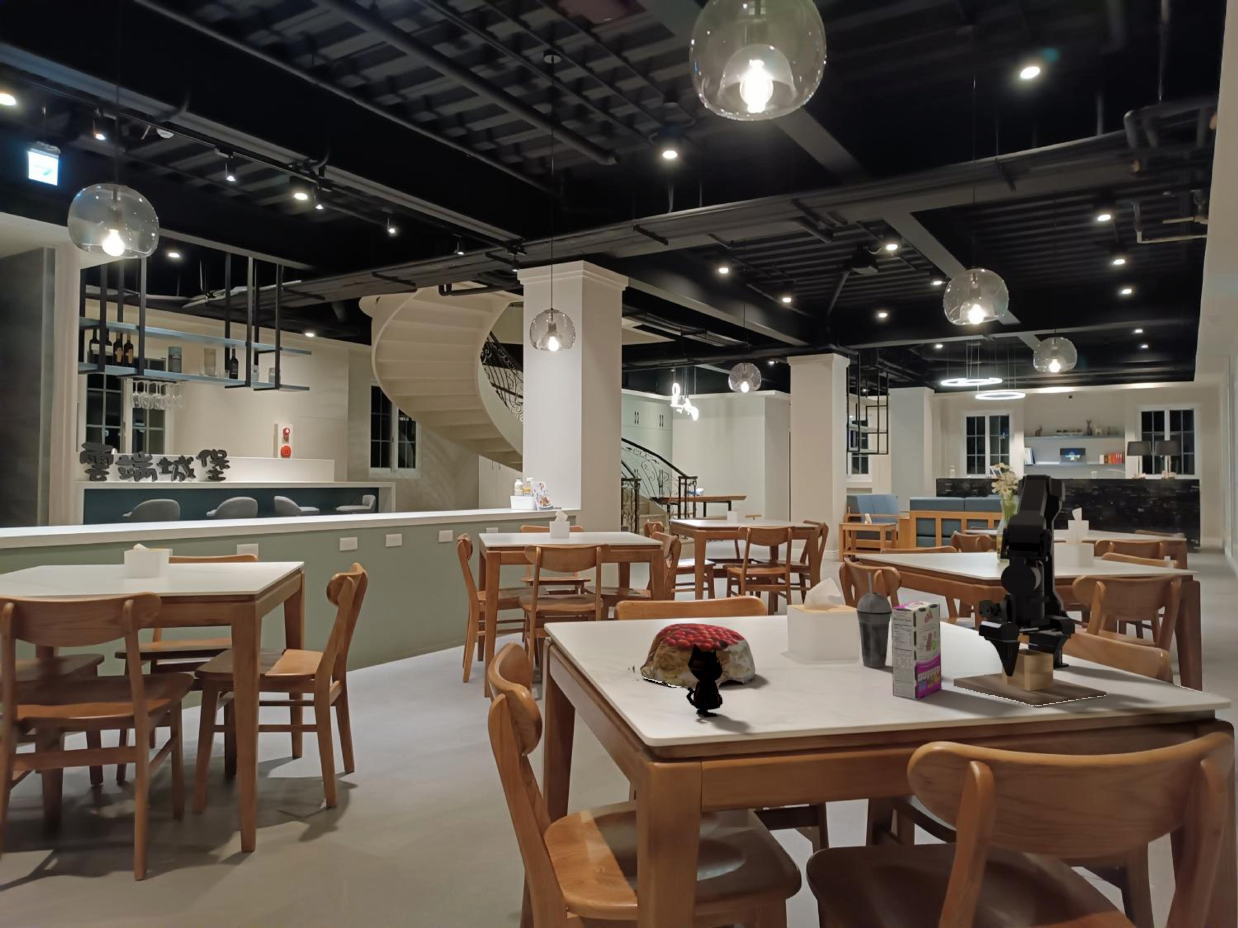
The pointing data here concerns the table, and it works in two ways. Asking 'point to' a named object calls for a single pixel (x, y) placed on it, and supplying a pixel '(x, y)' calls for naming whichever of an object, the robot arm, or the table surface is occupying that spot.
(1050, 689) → the pin board
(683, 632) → the cake
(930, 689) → the candy bar box
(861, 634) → the beverage cup
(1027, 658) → the oak collar
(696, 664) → the cat figurine
